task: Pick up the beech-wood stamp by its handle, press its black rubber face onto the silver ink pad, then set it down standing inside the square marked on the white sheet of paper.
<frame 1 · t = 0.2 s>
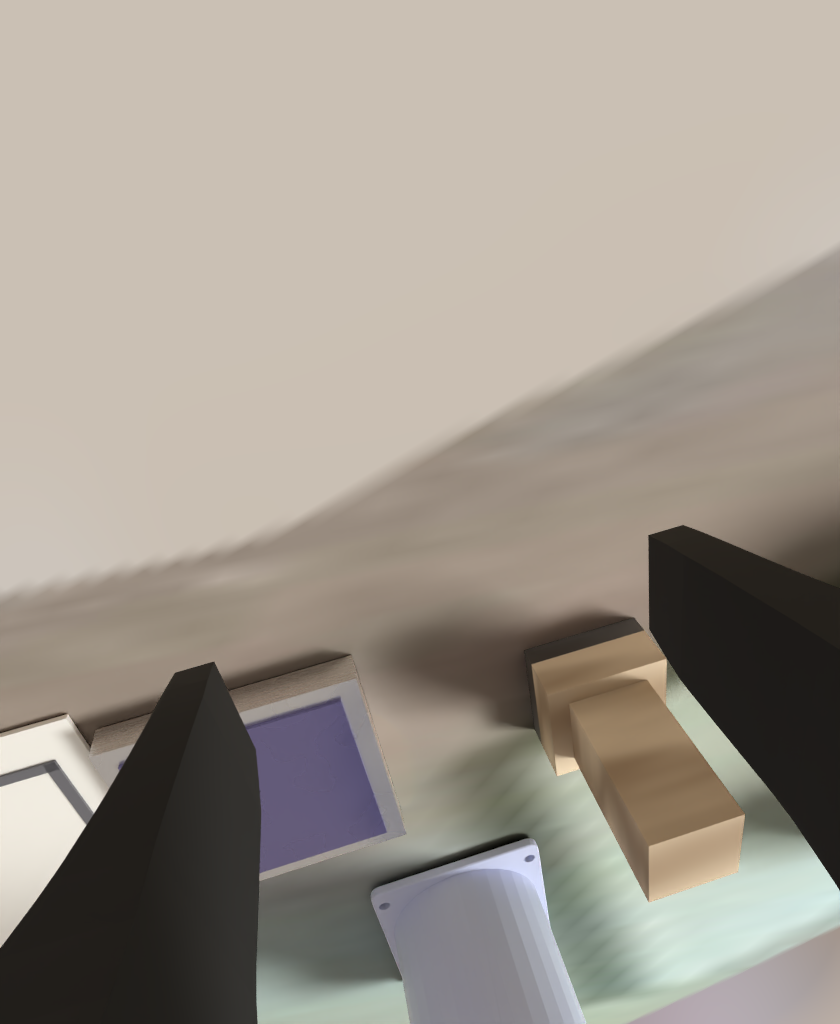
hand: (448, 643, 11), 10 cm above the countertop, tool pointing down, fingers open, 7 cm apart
stamp: (582, 675, 27), on the countertop
ink pad: (264, 773, 25), on the countertop
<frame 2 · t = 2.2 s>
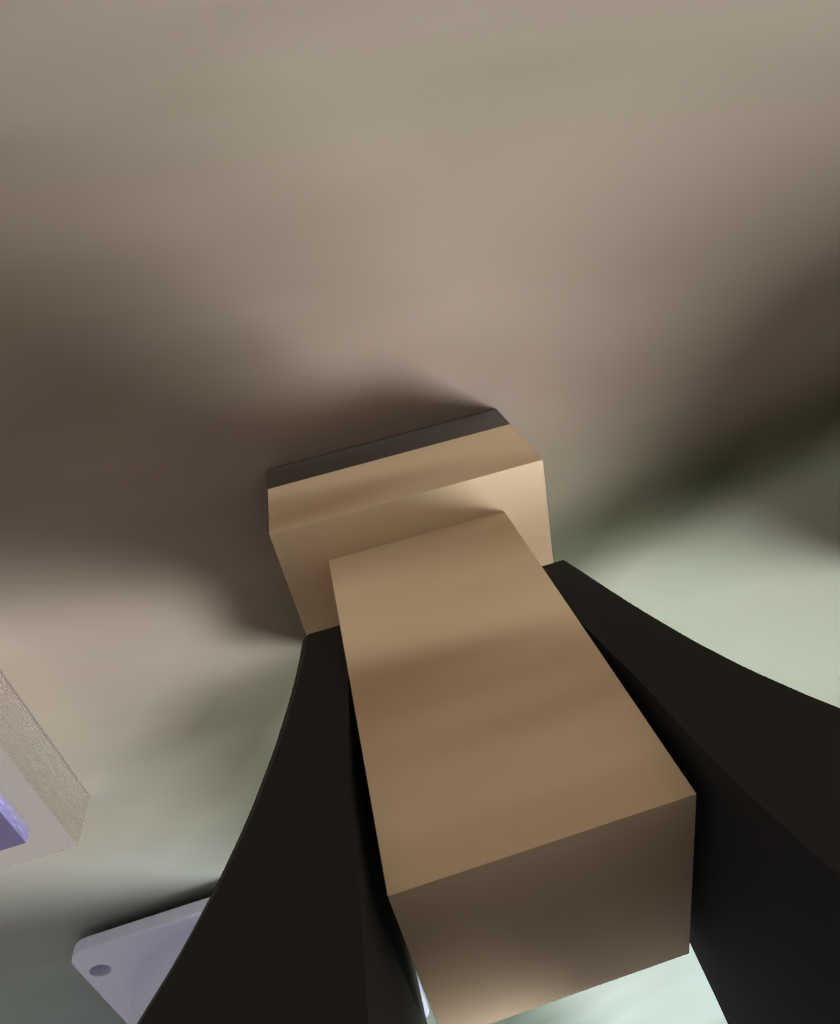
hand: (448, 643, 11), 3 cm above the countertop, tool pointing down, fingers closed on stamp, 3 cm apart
stamp: (406, 536, 14), on the countertop, touching gripper
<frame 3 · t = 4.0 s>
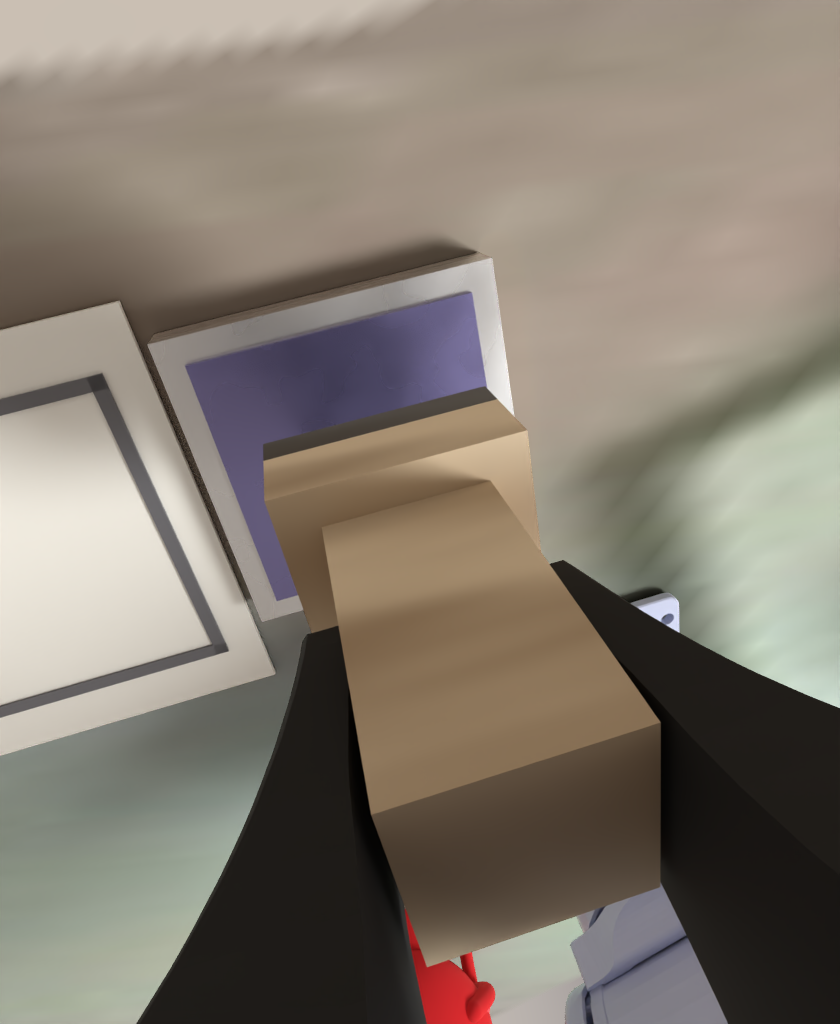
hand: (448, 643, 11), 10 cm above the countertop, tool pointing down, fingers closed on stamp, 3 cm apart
stamp: (398, 511, 14), point 6 cm above the countertop, touching gripper
ink pad: (360, 442, 20), on the countertop
red rounded piece: (413, 943, 33), on the countertop
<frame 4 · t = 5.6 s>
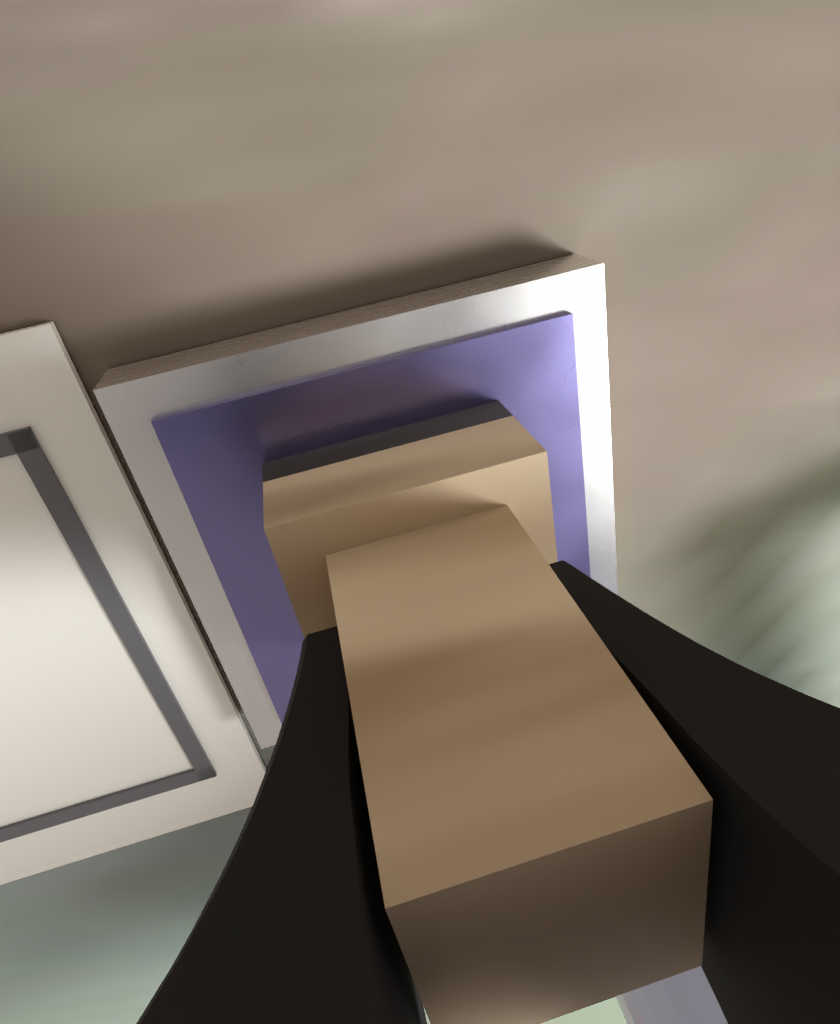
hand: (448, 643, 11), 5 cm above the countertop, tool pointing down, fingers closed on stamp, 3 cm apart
stamp: (406, 532, 13), point 1 cm above the countertop, touching gripper, ink pad
ink pad: (398, 512, 15), on the countertop
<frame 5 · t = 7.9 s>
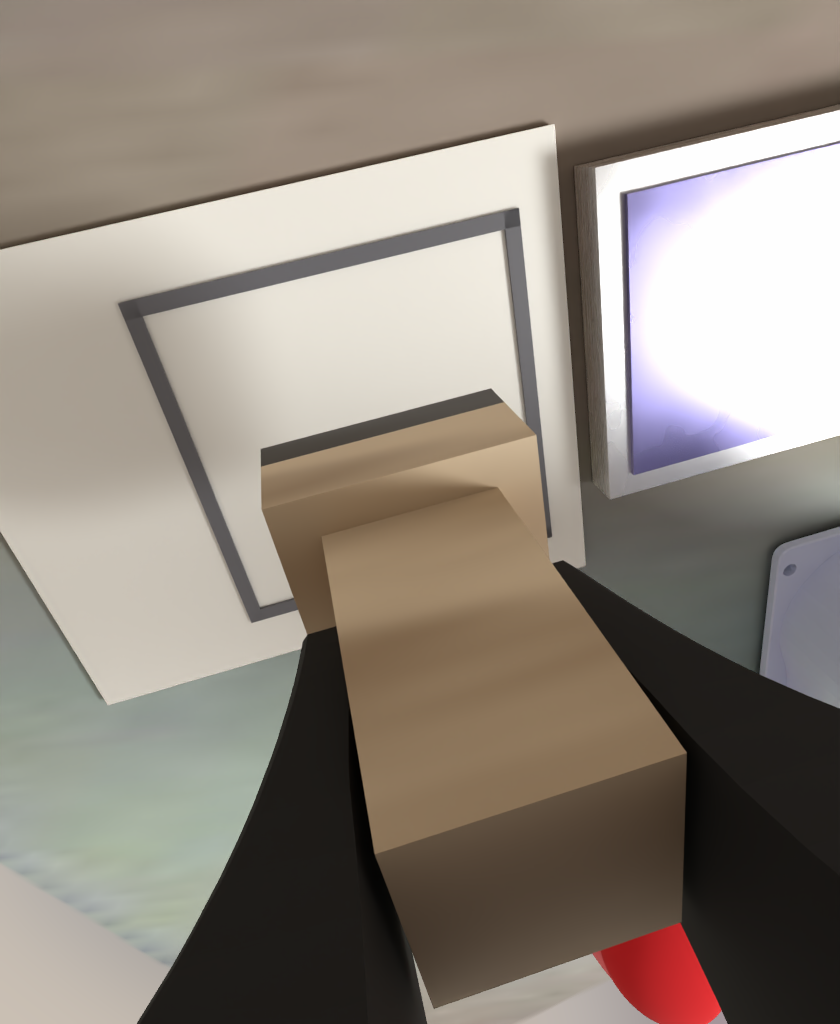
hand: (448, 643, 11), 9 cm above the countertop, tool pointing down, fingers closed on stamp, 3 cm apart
paper: (298, 453, 18), on the countertop
stamp: (401, 517, 14), point 5 cm above the countertop, touching gripper
ink pad: (731, 305, 19), on the countertop
red rounded piece: (622, 870, 33), on the countertop
when the fingers open (4 cm above the countertop, at t = 9.3 s): stamp stays where it is, resting on paper.
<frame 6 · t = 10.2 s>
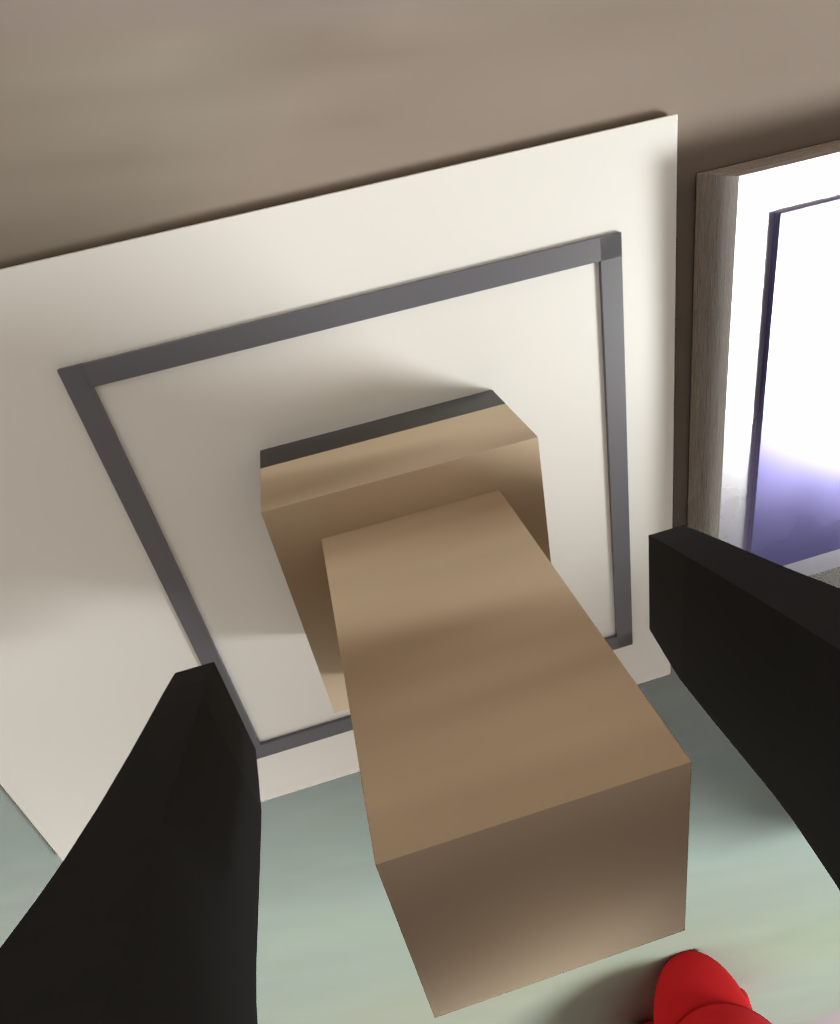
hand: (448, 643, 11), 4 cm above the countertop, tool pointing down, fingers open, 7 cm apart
paper: (311, 555, 14), on the countertop
stamp: (401, 519, 14), resting on paper
red rounded piece: (681, 987, 28), on the countertop
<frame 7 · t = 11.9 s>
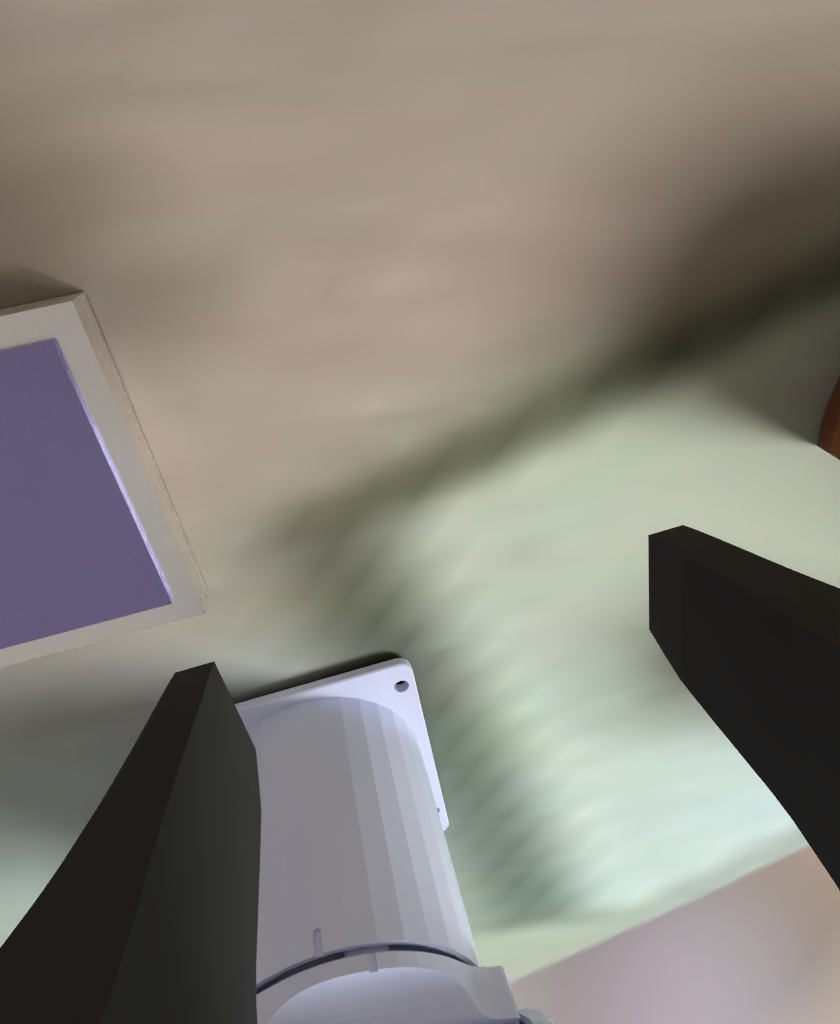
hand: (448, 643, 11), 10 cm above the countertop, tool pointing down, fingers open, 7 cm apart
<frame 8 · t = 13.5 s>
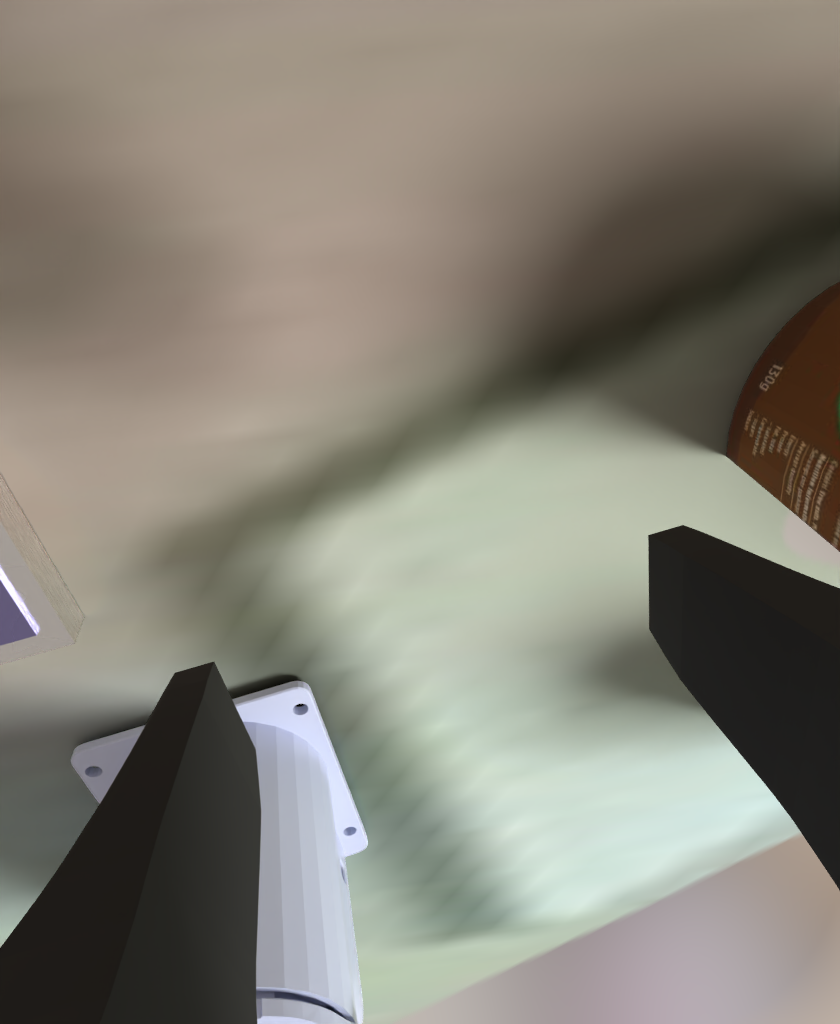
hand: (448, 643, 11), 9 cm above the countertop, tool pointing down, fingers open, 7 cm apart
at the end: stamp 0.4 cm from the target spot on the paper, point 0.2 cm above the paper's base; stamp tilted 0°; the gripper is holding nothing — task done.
